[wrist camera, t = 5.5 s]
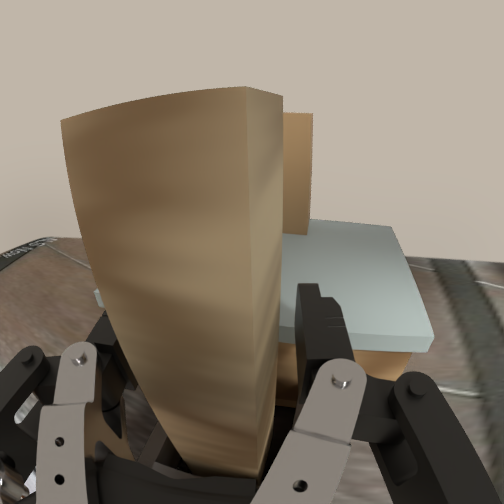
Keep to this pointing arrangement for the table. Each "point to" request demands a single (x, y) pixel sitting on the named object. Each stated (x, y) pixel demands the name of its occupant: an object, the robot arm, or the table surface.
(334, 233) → the lid
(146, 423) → the table surface
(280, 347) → the wooden box
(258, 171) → the wooden block
